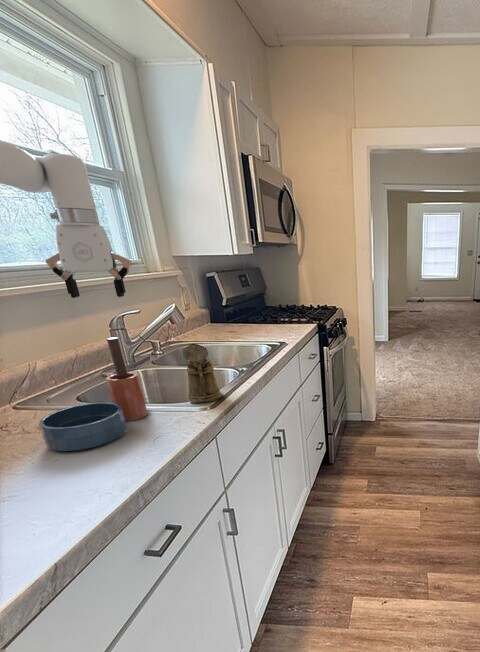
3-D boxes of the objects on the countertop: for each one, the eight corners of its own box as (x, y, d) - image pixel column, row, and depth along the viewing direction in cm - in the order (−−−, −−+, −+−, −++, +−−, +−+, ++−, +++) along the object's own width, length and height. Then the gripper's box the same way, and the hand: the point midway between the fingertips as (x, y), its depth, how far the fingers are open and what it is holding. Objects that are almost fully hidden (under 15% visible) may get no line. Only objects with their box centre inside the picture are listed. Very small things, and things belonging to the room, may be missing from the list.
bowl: (34, 458, 85) (24, 432, 82) (65, 428, 98) (57, 406, 96) (116, 448, 89) (109, 423, 86) (135, 421, 102) (129, 399, 100)
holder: (114, 422, 102) (102, 381, 97) (122, 412, 108) (111, 373, 103) (143, 419, 103) (133, 378, 99) (150, 409, 109) (140, 371, 105)
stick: (126, 416, 104) (105, 339, 96) (129, 412, 106) (108, 337, 98) (136, 415, 105) (116, 338, 97) (139, 411, 107) (119, 337, 99)
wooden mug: (187, 410, 109) (173, 345, 102) (189, 395, 120) (176, 335, 113) (222, 406, 112) (211, 342, 105) (220, 391, 123) (210, 332, 116)
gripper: (24, 216, 86) (49, 299, 92) (116, 218, 90) (133, 297, 97) (42, 218, 92) (64, 295, 99) (126, 220, 97) (142, 294, 103)
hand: (98, 296), depth 98 cm, fingers open, 9 cm apart
